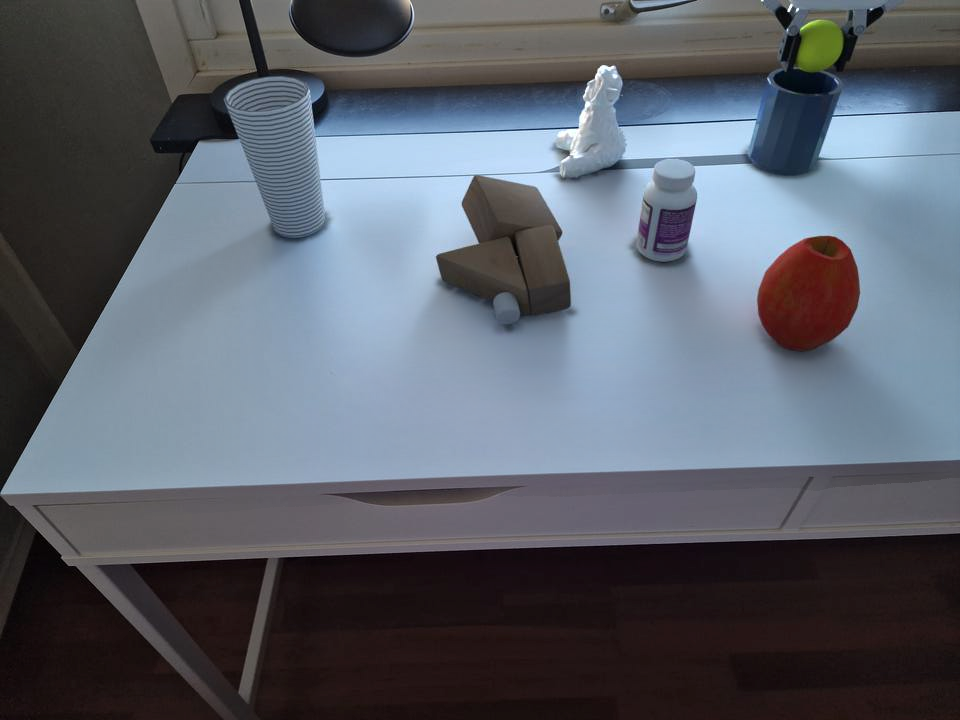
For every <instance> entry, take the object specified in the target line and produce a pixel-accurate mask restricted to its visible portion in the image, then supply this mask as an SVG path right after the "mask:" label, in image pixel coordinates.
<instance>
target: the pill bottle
mask: <svg viewBox="0 0 960 720" xmlns="http://www.w3.org/2000/svg"><path fill="white" fill-rule="evenodd" d="M695 175H696V168H695V166H694V165H693V164H692V163H691V162H688V161H686V160H683V159H678V158H667V159H662V160H660V161H658V162H656V163H655V164H654V166H653V172H652V176H651V178H652V179H651V180H650V181H649V182H648V183H647V184H646V185H645V187H644V190H643V193H642V201H641V210H640V214H639V220H638V221H639V222H638V229H637V236H636V248H637V250H638V252H639V253H640V254H641V255H642V256H644V257H645V258H647V259H649V260H651V261H655V262H663V263H664V262H665V263H667V262H672V261H676V260H678V259H680V258H682V257H683V256H684V254H685V253H686V251H687V248H688V244H689V239H690V234H691V229H692V224H693V220H694V215H695V211H696V206H697V201H698V191H697V188H696V187H695V186H694V182H695Z"/></svg>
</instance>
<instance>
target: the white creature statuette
mask: <svg viewBox="0 0 960 720" xmlns="http://www.w3.org/2000/svg"><path fill="white" fill-rule="evenodd" d="M623 83H624V82H623V79H622V77H621V75H619V72H618V70H617V67H616V65H612V66H610V67H609V66H608V65H601V66H600V67H599V68H598V69H597V73H596V74H595V77H594V79H592V80H590V81H588V82H587V84H586V85H587V87H586V89H585V93H584V94H583V96H582V98H583V102H585V104H584V108H583V110H582V111H581V114H580V115H579V117H578V118H579V124H578V128H577V129H567V130H563V131H559V132H558V134H557V136H556V141H555V142H556V143H555V146H556V147H557V148H558V149H560V150H564V151H568V152H569V155H568V156H567V157H565V158H564V159H563V160H561V161H560V163H559V174H560V177H562V179H564V178H565V179H572V178H576V179H577V178H578V177H581V176H584V175H588V174H590V173H595V172H597V171H600V170H602V169H607V168H611V167H613V166H614V165H615V164H616V163H618V162H619V161H620V160H621V159H623V156H624V154H625V153H626V148H627V146H628V144H627V142H626V141H627V138H626V137H625V134H624V131H623V130H622V128H620V126H619V124H618V121H617V115H616V112H617V110H616V108H615V107H614V105H615V104H616V102H618V101H619V100H620V95H621V92H622V88H623V86H624V84H623Z"/></svg>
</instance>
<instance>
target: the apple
mask: <svg viewBox="0 0 960 720" xmlns="http://www.w3.org/2000/svg"><path fill="white" fill-rule="evenodd" d="M855 259H856V258H855V257H854V254H853V251H852V249H851V248H850V246H848V245H847V244H846V242H844V240H842V239H840V238H838V237H837V236H834V235H816V236H809V237H805V238H802V239H801V240H799V241H797V242H796V243H794V244H792V245H791V246H790V247H788V248H787V249H785V250H784V251H783V252H782V253H780V254H779V256H777V258H776V259H775V260H774V261H773V262H772V263H771V265H770V266H769V267H767V269H766V270H765V272H764V274H763V277H762V279H761V282H760V285H759V287H758V290H757V298H756V302H757V315H758V318H759V319H760V323H761V325H762V327H763V328H764V330H765V331H766V333H767V334H768V336H769V337H770V339H772V340H773V341H774V342H775V343H776V344H777V345H779V346H781V347H783V348H786V349H788V350H791V351H799V352H801V351H802V352H807V351H810V350H815V349H818V348H819V347H822V346H824V345H826V344H828V343H830V342H832V341H833V340H835V339H836V338H837V337H838V336H840V334H841V333H843V332H844V331H845V330H846V329H847V328H849V326H850V324H851V322H852V320H853V318H854V316H855V314H856V312H857V309H858V306H859V301H860V296H861V287H860V285H861V284H860V275H859V268H858V265H857V262H856V260H855Z"/></svg>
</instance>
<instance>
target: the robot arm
mask: <svg viewBox="0 0 960 720" xmlns="http://www.w3.org/2000/svg"><path fill="white" fill-rule="evenodd" d="M760 1H761V3H762V5H763V6H764V7H765V8H766V9H767V10H768V11H769V12H770V13H771V14H772V15H773V16H774V17H775V18H776V19H777V21H778V22H779V24H780V25H781V26H782V28H783V29H784V30H783V33H782V37H781V41H780V44H779V48H778V50H777V51H778V52H777V61H778V62H779V64H780V66H781V68H783V69H784V71H785V72H791V71H792V70H793V67H795V60H796V57H797V53H798V50H799V46H800V43H801V39H802V37H801V35H800V34H799V32H800V29H801V28H802V27H803V24H804V23H805V21H806V19H807V17H808V16H809V13H810V12H811V11H846V22H845V23H844V25H841V26H840V27H839V28H840V29H841V31H842V33H843V36H844V45H843V49H842V52H841V55H840V56H839V58H838V59H837V61H836V62H835V63H834V64H833V65H831V67H832V69H833V70H834V71H835V72H836V73H843V72H844V70H845V67H846V64H847V62H850V61H851V59H852V56H853V53H854V50H855V48H856V46H857V41H858V39H859V36H862V35H863V34H865V32H866V29H867V28H869V26H872V24H874V23H875V22H876V21H878V20H879V19H881V18H882V17H883V15H884V14H885V13H888V12H890V11H891V10H893V9H895V8H897V7H898V6H900V5H901V4H902V3H904V1H905V0H788V2H789V3H790V5H789V8H788V9H787V7H786V6H785V4H784V3H782V2H781V1H780V0H760Z"/></svg>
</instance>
